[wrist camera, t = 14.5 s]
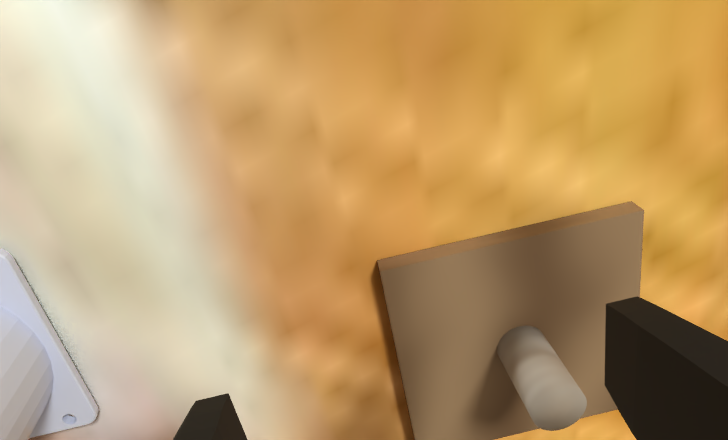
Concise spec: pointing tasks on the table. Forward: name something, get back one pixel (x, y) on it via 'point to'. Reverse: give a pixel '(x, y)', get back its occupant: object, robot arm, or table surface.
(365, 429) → the table surface
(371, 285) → the table surface
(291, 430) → the table surface
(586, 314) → the pin block
